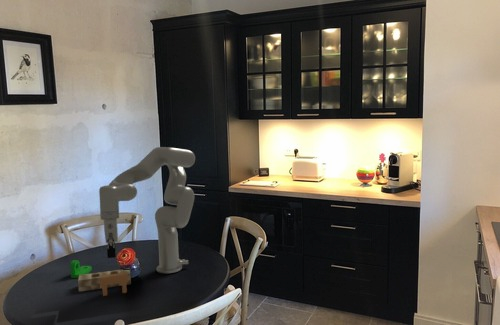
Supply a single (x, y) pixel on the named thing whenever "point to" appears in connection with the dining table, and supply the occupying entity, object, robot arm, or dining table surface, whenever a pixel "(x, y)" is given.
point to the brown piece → (114, 281)
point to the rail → (98, 280)
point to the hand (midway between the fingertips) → (111, 254)
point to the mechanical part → (78, 269)
